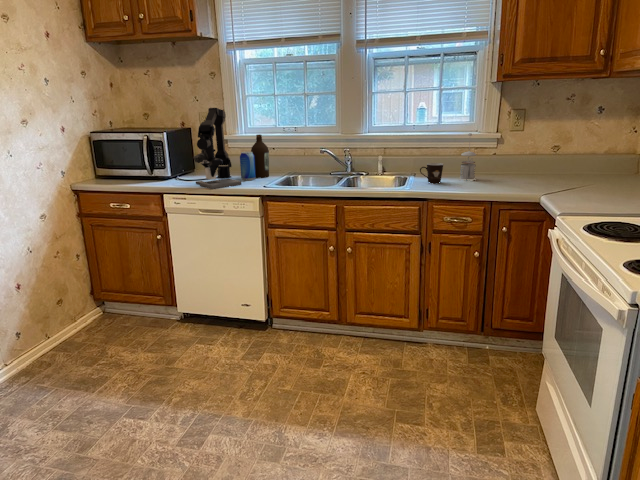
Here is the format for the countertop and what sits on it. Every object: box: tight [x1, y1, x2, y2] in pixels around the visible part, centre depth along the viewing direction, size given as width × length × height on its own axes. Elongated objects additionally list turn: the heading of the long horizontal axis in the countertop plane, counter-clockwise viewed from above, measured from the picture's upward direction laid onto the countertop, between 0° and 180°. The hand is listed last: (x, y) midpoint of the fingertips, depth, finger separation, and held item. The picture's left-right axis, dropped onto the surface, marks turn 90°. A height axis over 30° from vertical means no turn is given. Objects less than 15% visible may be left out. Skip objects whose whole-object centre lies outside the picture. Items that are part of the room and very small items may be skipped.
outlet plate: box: [199, 177, 242, 190], centre depth 265 cm, size 18×14×2 cm
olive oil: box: [250, 134, 270, 179], centre depth 287 cm, size 11×11×25 cm
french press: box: [459, 133, 477, 180], centre depth 260 cm, size 10×12×25 cm
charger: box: [204, 167, 217, 180], centre depth 263 cm, size 4×4×6 cm
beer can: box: [239, 151, 256, 182], centre depth 280 cm, size 8×8×16 cm
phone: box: [195, 180, 205, 186], centre depth 271 cm, size 4×7×1 cm, turn 40°
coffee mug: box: [419, 162, 444, 184], centre depth 257 cm, size 12×9×10 cm
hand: (210, 176), depth 264 cm, fingers closed on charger, 4 cm apart
